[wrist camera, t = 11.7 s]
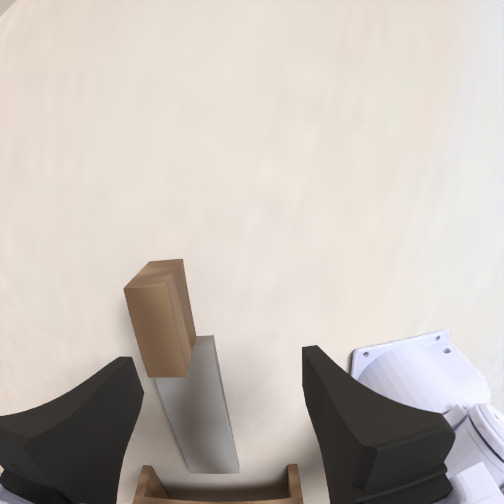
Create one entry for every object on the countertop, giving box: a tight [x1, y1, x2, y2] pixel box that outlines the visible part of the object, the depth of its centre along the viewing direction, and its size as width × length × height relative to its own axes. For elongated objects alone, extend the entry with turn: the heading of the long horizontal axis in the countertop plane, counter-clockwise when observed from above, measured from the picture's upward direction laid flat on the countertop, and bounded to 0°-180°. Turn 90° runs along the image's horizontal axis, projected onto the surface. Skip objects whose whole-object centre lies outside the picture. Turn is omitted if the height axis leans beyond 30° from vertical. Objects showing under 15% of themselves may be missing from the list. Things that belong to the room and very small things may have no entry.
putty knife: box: [124, 259, 239, 474], centre depth 21 cm, size 5×22×5 cm, turn 5°
